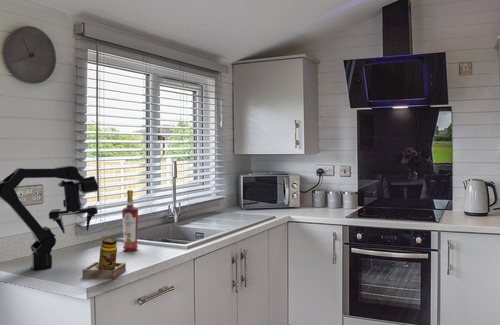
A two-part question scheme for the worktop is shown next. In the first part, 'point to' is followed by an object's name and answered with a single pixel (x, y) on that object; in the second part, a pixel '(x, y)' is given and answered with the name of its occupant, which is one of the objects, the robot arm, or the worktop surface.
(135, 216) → the liquor
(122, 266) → the walnut tray
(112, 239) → the condiment
